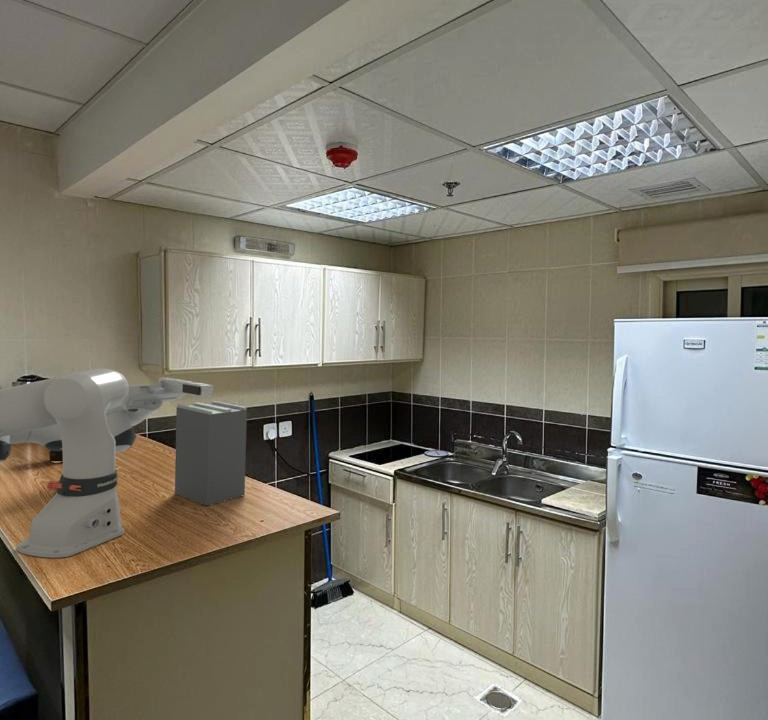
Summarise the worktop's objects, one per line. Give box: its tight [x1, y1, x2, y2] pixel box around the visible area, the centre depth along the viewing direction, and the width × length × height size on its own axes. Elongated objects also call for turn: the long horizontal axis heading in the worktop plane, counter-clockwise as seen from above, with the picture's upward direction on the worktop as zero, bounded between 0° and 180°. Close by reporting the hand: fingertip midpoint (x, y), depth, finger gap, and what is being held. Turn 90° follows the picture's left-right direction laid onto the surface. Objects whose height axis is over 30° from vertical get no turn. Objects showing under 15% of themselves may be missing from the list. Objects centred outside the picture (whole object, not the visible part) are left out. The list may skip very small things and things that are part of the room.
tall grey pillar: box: [174, 400, 248, 506], centre depth 155 cm, size 16×13×27 cm
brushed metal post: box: [158, 376, 214, 399], centre depth 158 cm, size 24×4×4 cm, turn 53°
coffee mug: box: [48, 449, 63, 461], centre depth 186 cm, size 12×9×10 cm
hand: (168, 382), depth 164 cm, fingers closed on brushed metal post, 3 cm apart
